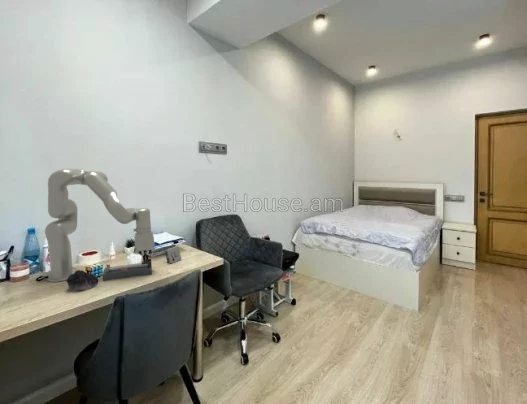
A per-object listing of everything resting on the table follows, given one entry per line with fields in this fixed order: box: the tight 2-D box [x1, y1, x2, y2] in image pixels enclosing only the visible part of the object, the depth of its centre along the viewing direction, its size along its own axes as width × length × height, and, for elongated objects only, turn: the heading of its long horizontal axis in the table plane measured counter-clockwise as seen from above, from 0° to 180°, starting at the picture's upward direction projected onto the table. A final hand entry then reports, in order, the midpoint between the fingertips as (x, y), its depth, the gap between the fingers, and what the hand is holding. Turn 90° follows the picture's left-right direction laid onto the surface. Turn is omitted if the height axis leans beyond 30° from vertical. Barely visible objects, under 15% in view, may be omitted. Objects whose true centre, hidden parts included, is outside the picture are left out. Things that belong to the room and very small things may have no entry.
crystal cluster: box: [66, 269, 99, 292], centre depth 136 cm, size 13×14×10 cm
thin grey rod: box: [109, 260, 148, 270], centre depth 151 cm, size 22×3×2 cm, turn 114°
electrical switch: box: [164, 245, 182, 264], centre depth 174 cm, size 9×5×9 cm, turn 152°
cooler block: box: [102, 258, 153, 282], centre depth 151 cm, size 24×9×7 cm, turn 114°
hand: (145, 261), depth 154 cm, fingers closed
